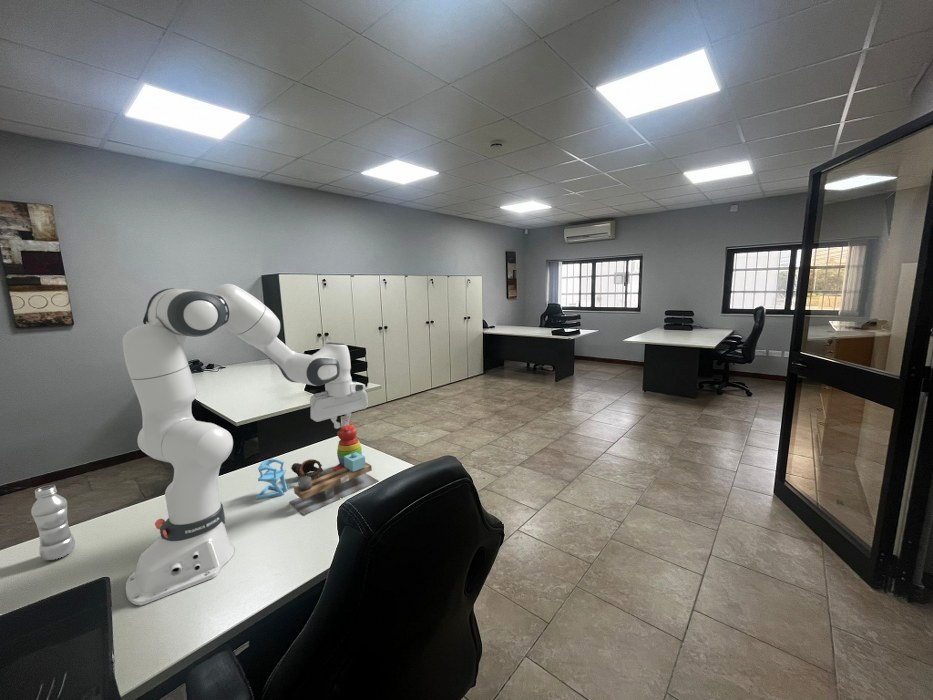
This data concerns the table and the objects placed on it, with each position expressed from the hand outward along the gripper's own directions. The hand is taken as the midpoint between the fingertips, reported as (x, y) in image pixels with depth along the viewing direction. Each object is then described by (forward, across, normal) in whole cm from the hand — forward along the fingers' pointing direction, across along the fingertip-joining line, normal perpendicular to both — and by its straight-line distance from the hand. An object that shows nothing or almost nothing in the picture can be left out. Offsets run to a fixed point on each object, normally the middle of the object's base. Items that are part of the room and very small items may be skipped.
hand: (341, 426), depth 133 cm
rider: (+19, +4, 0) cm, 19 cm away
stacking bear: (+23, +9, +13) cm, 28 cm away
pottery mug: (+23, -6, +17) cm, 30 cm away
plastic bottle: (+23, -71, +27) cm, 79 cm away
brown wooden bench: (+23, -4, 0) cm, 23 cm away
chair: (+23, -19, +16) cm, 34 cm away
